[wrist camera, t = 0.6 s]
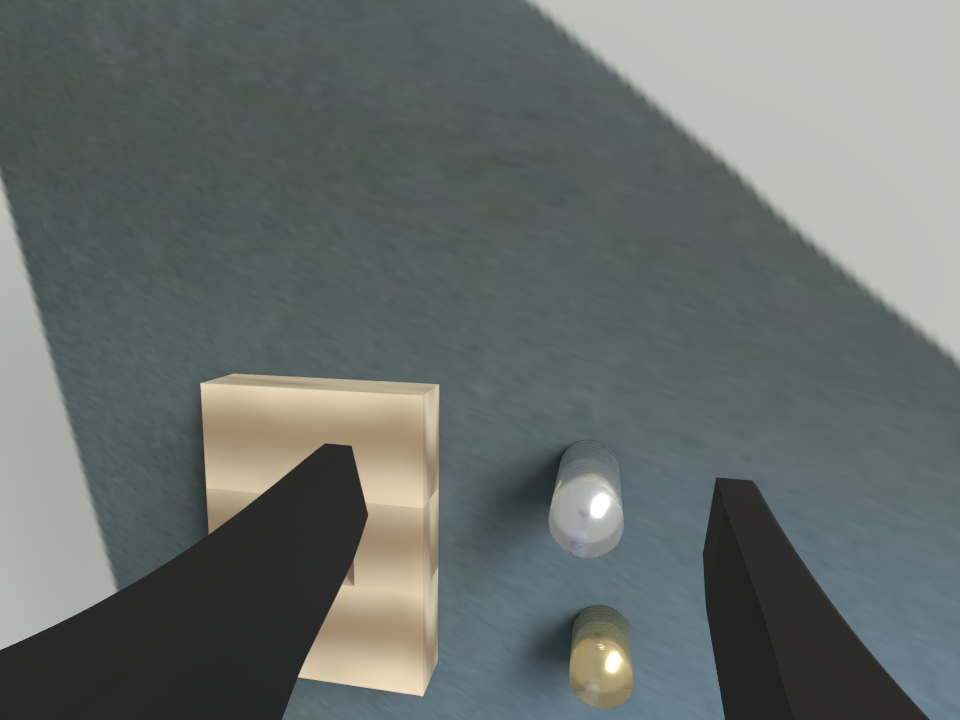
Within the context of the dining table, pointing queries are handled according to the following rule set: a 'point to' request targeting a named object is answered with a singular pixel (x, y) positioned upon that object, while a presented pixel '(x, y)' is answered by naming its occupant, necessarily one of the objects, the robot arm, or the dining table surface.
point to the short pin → (601, 658)
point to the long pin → (587, 500)
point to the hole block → (388, 496)
